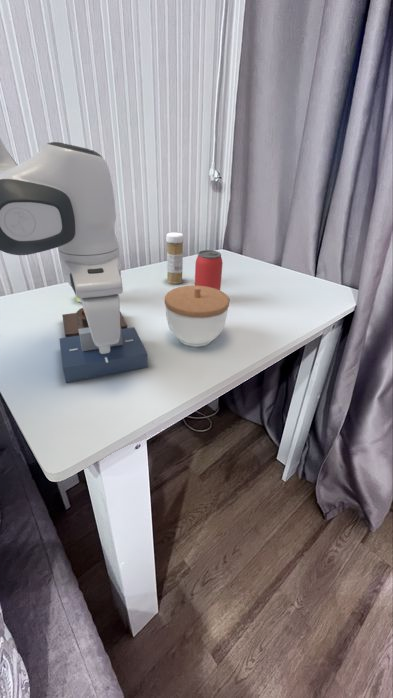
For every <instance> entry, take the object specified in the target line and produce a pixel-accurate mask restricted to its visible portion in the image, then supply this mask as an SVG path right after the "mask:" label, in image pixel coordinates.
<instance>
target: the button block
mask: <svg viewBox="0 0 393 698" xmlns="http://www.w3.org/2000/svg"><path fill="white" fill-rule="evenodd" d="M61 315H62V323H63V330H64V338H66V337H72V336H79V330H78V329H82V328H89V326H88V322H87V319H86V316H84V312H83V307H81V308H79V309H78V310H77V311H76V312H71V313H66V314H61ZM120 327H121V329H126V328H128V325H127V322H126V321H125V319H124V316H123V313H122V312H121V311H120Z"/></svg>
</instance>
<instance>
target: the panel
mask: <svg viewBox="0 0 393 698" xmlns="http://www.w3.org/2000/svg"><path fill="white" fill-rule="evenodd" d="M121 333H122V343H123V345H118V346H112V347H110V352H109V353H105V354H100V352H99V349H94V350H88V351H82V347H81V341H80V335H79V336H72V337H60V338H59V349H60V356H61V357H60V358H61V366H62V367H61V368H62V372H63V376H64V381H65V384H68V383H73V382H78V381H85V380H88V379H94V378H99V377H103V376H109V375H114V374H119V373H125V372H130V371H135V370H141V369H144V368H149V364H148V363H149V362H148V360H149V359H148V352H147V349H146V348H145V346H144V344H143V341H142V340H141V338H140V336H139V334H138V332H137V329H136V328H135V326H134V327H127V328H126V329H121Z"/></svg>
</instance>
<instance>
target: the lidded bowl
mask: <svg viewBox="0 0 393 698" xmlns="http://www.w3.org/2000/svg"><path fill="white" fill-rule="evenodd" d="M164 295H165V296H164V305H165V306H164V307H165V308H164V309H165V310H164V311H165V318H166V324H167V326H168V328H169V331H170V332H171V333H172V335H173V336H174V337H175V338H176V339H178V341H179V342H180V343H181V344H183V345H184V346H187V347H195V348H197V347H198V348H199V347H200V348H201V347H205V346H207V345H209V344H211V342H212V341H214V340H215V339H216V338H217V337H219V335H221V333H222V332H223V329H224V327H225V325H226V321H227V319H228V312H229V307H230V298H229V296H228V295H227V294H226V293H225V292H223V291H222V290H221V289H220V290H218V289H215V288H211V287H206V286H195V285H183V286H178V287H175V288H172V289H171V290H169V291H167V292H166V293H165V294H164Z"/></svg>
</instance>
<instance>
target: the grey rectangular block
mask: <svg viewBox="0 0 393 698" xmlns="http://www.w3.org/2000/svg"><path fill="white" fill-rule="evenodd" d="M78 330H79V335H80V341H81V347H82V351H88V350H94V349H99V348H98V347H97V346H95V344H94V342H93V339H92V336H91V333H90V329H89V328H82V329H78ZM118 345H123V343H122V333H121V327H120V338H119V342H118V343H117V344H113V345H110V347H112V346H118Z"/></svg>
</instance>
